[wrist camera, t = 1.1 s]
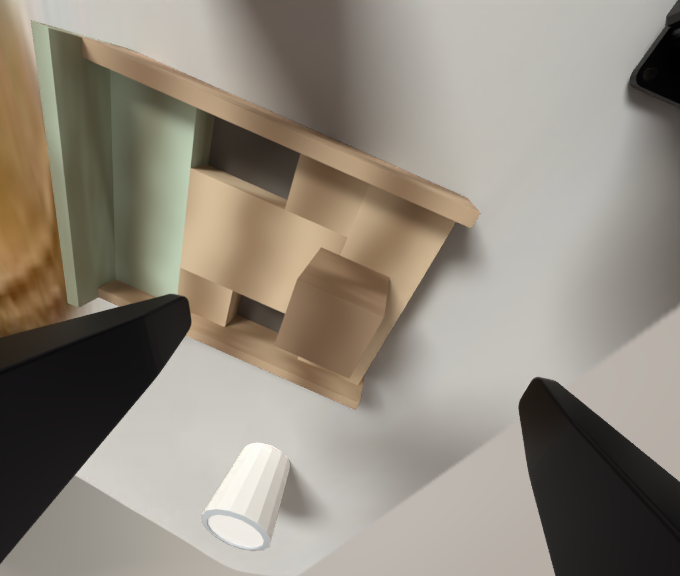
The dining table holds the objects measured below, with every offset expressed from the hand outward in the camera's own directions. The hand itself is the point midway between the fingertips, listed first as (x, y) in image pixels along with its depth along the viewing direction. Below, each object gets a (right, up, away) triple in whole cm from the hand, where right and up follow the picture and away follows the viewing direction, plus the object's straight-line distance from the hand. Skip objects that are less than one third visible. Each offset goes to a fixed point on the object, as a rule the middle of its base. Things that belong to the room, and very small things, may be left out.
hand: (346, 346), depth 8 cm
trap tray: (-5, +5, +13) cm, 15 cm away
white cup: (-8, -18, +26) cm, 32 cm away
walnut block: (0, +1, +11) cm, 12 cm away
